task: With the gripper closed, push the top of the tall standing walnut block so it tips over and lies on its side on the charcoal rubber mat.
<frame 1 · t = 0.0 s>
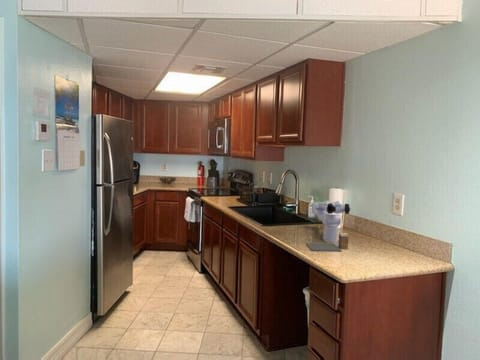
hand: (342, 209, 203), 22 cm above the countertop, tool horizontal, fingers open, 7 cm apart
rubber mat: (323, 247, 205), on the countertop
walnut block: (343, 248, 206), on the countertop
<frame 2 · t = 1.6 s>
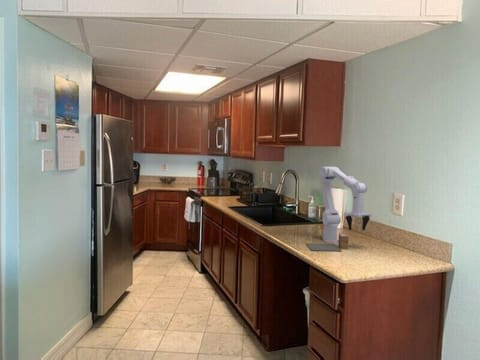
hand: (356, 229, 205), 10 cm above the countertop, tool pointing down, fingers open, 7 cm apart
nothing on the countertop moved.
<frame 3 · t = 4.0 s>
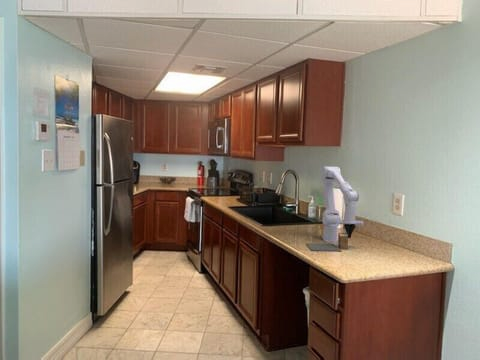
hand: (348, 237, 205), 6 cm above the countertop, tool pointing down, fingers closed
walnut block: (343, 248, 206), on the countertop, touching gripper
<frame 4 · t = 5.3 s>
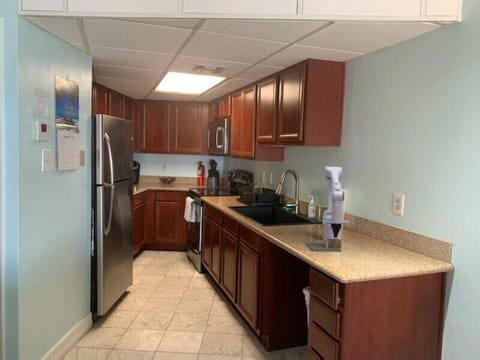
hand: (335, 237, 205), 6 cm above the countertop, tool pointing down, fingers closed
walnut block: (340, 243, 205), point 3 cm above the countertop, tilted 90°, touching rubber mat
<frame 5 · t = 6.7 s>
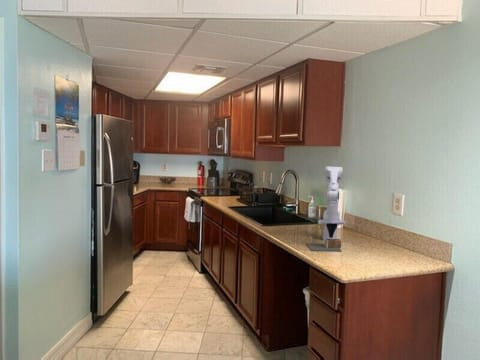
hand: (330, 237, 205), 6 cm above the countertop, tool pointing down, fingers closed
nothing on the countertop moved.
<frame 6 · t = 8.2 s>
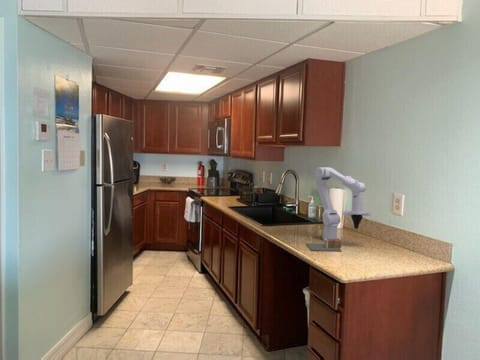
hand: (356, 228, 209), 10 cm above the countertop, tool pointing down, fingers closed
nothing on the countertop moved.
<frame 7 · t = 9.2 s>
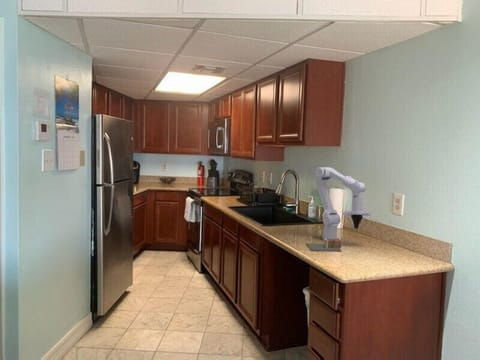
hand: (356, 228, 209), 10 cm above the countertop, tool pointing down, fingers closed
nothing on the countertop moved.
at the end: walnut block tilted 90°; walnut block touching rubber mat; walnut block inside the target area (2.7 cm from its centre), point 2.6 cm above the countertop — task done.
